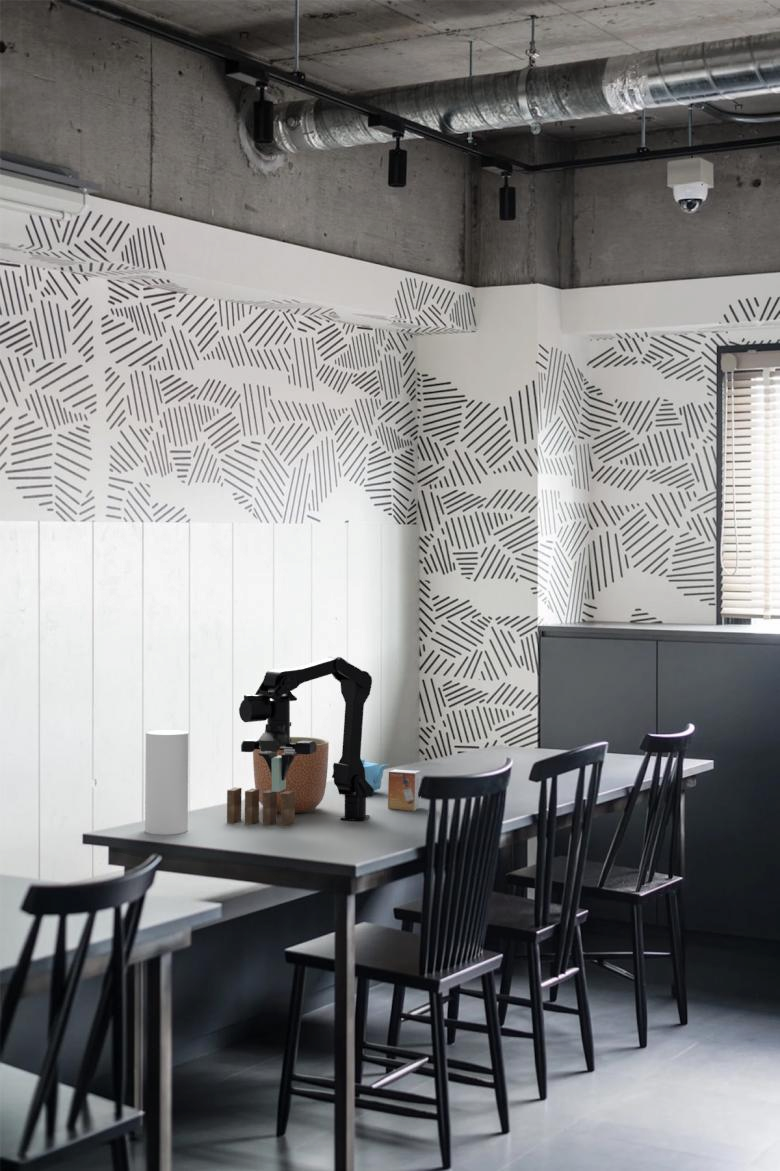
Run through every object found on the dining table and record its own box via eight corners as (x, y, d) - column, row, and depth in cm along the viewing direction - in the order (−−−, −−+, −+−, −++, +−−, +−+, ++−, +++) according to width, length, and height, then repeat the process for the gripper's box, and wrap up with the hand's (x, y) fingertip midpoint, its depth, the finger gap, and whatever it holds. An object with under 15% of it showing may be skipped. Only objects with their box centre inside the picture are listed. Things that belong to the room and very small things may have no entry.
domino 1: (226, 822, 375) (227, 790, 375) (234, 819, 380) (234, 787, 379) (233, 823, 374) (234, 790, 374) (241, 819, 379) (241, 787, 379)
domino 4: (271, 791, 364) (271, 758, 364) (278, 788, 369) (278, 755, 369) (279, 791, 364) (278, 758, 363) (285, 788, 368) (285, 755, 368)
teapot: (324, 793, 424) (324, 759, 423) (347, 787, 436) (348, 754, 436) (378, 798, 415) (378, 764, 415) (400, 792, 428) (400, 758, 427)
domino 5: (280, 826, 371) (280, 793, 370) (287, 822, 375) (287, 790, 375) (287, 826, 370) (288, 793, 370) (294, 823, 375) (294, 790, 375)
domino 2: (244, 823, 373) (244, 791, 373) (251, 820, 378) (252, 788, 378) (251, 824, 373) (252, 791, 373) (258, 821, 378) (259, 788, 377)
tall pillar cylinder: (187, 826, 369) (188, 729, 368) (188, 834, 358) (188, 734, 358) (145, 827, 367) (146, 729, 367) (144, 835, 357) (145, 734, 356)
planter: (268, 801, 408) (269, 735, 407) (337, 806, 402) (338, 738, 402) (240, 814, 388) (241, 744, 387) (313, 818, 382) (314, 747, 382)
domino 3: (262, 825, 372) (262, 792, 372) (269, 821, 377) (269, 789, 377) (269, 825, 371) (270, 792, 371) (276, 822, 376) (276, 789, 376)
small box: (387, 809, 398) (387, 771, 398) (393, 806, 403) (394, 768, 403) (414, 811, 395) (415, 773, 395) (420, 807, 401) (421, 770, 400)
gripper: (232, 721, 361) (232, 783, 361) (302, 724, 356) (302, 786, 356) (249, 716, 371) (249, 776, 372) (317, 718, 366) (317, 779, 367)
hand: (278, 780), depth 366 cm, fingers closed on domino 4, 2 cm apart
